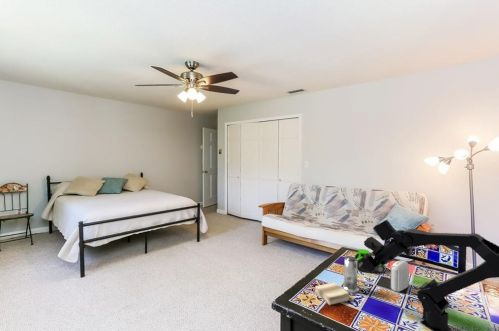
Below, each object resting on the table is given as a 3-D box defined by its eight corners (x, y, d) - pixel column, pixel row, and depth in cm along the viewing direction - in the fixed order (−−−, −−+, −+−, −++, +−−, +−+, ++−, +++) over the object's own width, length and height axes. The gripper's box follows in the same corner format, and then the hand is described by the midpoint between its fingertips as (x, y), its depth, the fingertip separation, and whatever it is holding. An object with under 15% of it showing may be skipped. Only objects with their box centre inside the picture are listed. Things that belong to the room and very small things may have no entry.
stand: (349, 300, 106) (349, 293, 106) (329, 304, 103) (329, 297, 103) (333, 288, 116) (333, 282, 115) (315, 292, 112) (315, 286, 112)
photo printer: (400, 282, 120) (400, 257, 120) (410, 286, 117) (410, 260, 116) (389, 289, 115) (389, 262, 114) (399, 293, 111) (399, 265, 111)
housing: (362, 291, 113) (362, 260, 112) (349, 294, 111) (350, 262, 110) (351, 284, 119) (351, 254, 119) (339, 286, 117) (339, 256, 117)
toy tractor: (387, 275, 128) (387, 256, 127) (353, 271, 133) (353, 253, 133) (383, 266, 138) (383, 249, 138) (351, 263, 143) (351, 246, 143)
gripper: (387, 228, 110) (362, 246, 120) (365, 237, 99) (340, 256, 108) (406, 251, 104) (379, 268, 114) (386, 263, 93) (357, 281, 102)
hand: (364, 267), depth 110 cm, fingers open, 9 cm apart
